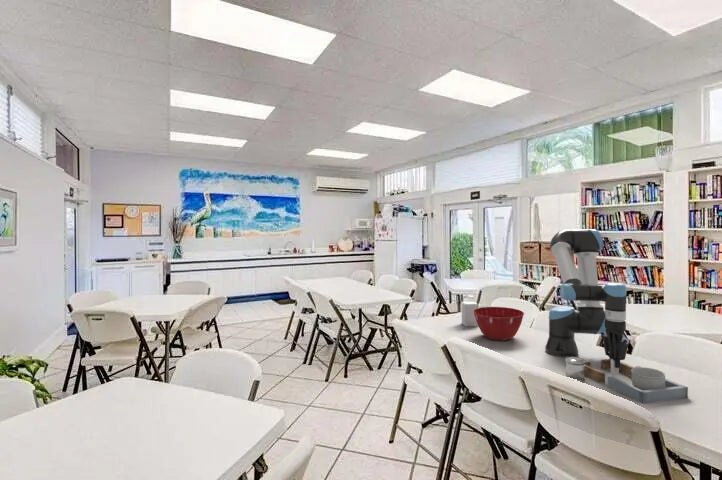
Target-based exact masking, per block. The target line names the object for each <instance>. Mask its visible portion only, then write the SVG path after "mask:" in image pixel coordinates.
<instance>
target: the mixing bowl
mask: <svg viewBox="0 0 722 480" xmlns="http://www.w3.org/2000/svg"><path fill="white" fill-rule="evenodd" d="M473 312H474V315H475V319H476V322H477V324H478V326H477V327H478V328H479V331H480V332H481V334H483V335H484V336H485V337H486V338H487V339H490V340H494V341H508V340H510V339H512V338H514V337H515V336H516V335H517V333H518V331H519V329H520V327H521V325H522V322H523V318H524V315H525V312H524V311H522V310H520V309H517V308H512V307H504V306H485V307H483V306H482V307H478V308H477V309H475V310H473Z"/></svg>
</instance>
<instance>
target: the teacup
mask: <svg viewBox="0 0 722 480" xmlns="http://www.w3.org/2000/svg"><path fill="white" fill-rule="evenodd" d="M634 367H635V368H633V369H631V374H632V377H631V382H632V386H634V387H636V388H638V389H641V390H643V391H644V390H652V389H660V388H665V379H666V373H665V372H663V371H662V370H659V369H655V368H652V367H645V366H644V367H642V366H640V365H636V366H634Z"/></svg>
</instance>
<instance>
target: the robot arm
mask: <svg viewBox="0 0 722 480" xmlns="http://www.w3.org/2000/svg"><path fill="white" fill-rule="evenodd" d="M603 245H604V242H603V238H602V235H601V233H600V232H599V231H598V230H597V229H595V228H594V229H592V228H591V229H590V228H584V229H583V228H580V229H579V228H578V229H577V228H574V229H568V228H567V229H562V230H560V231H558V232H557V233H555V234H554V235H553V237H552V238H551V240H550V242H549V248H550V249H549V250H550V252H551V254H552V255H553V256H554V258H555V261H556V265H557V267H558V270H559V271H558V272H559V274H560V278H561V281H562V283H563V284H562V283H561V285H560V291H559V292H560V296H561V299H562V300H564V301H571V302H575V301H576V302H577V301H579V304H578V305H577V306H576V309H575V308H574V307H573V306H566V305H564V306H555V307H551V308H550V309H549V311H548V338H547V342H546V344H545V347H544V349H545V352H546V353H547V354H549V355H552V356H556V357H562V358H567V357H577V356H579V349H578V345H577V343H576V340H575V334H583V335H584V334H586V335H589V334H590V335H600V336H601V338H602V343H603V348H604V354H605V356H607V357H608V359H610V365H611V369H610V375H612V376H617V375H619V374H620V372H619V368H620V362H621V361H625V360H626V355H627V351H628V348H629V345H630V344H631V339H629V338H627V337H626V333H625V331H626V330H627V322H626V320H627V286H626V285H625V284H623V283H619V282H607V283H603V282H601V283H599V280H598V268H597V267H598V266H597V256H599V254H600V252H601V251H602V250H603V248H604V247H603ZM572 252H573V254H572ZM573 256H574V257H575V258H576V260H577V261H576V263H577V266H576V264H575V261H574V258H573ZM600 302H604V306H603V305H602V304H601V303H600Z"/></svg>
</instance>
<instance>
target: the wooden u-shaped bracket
mask: <svg viewBox="0 0 722 480" xmlns="http://www.w3.org/2000/svg"><path fill="white" fill-rule="evenodd" d="M584 361H585V364H584V376H585V377H588V378H591V379H593V380H595V381H596V380H597V382H599V383H601V384H606V373H605V372H603V371H601V370H611V365H610V358H604V359H603V358H602V359H600V369H601V370H599V369H596V368H595V367H592V362H591V361H589V360H584ZM635 367H636V366H633V365H630V364H627V363H625V362H623V361H620V368H619V371H620V372H619V373H622V374H625V375H626V376H629V377H631V378H632V374H631V369H633V368H635Z"/></svg>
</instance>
